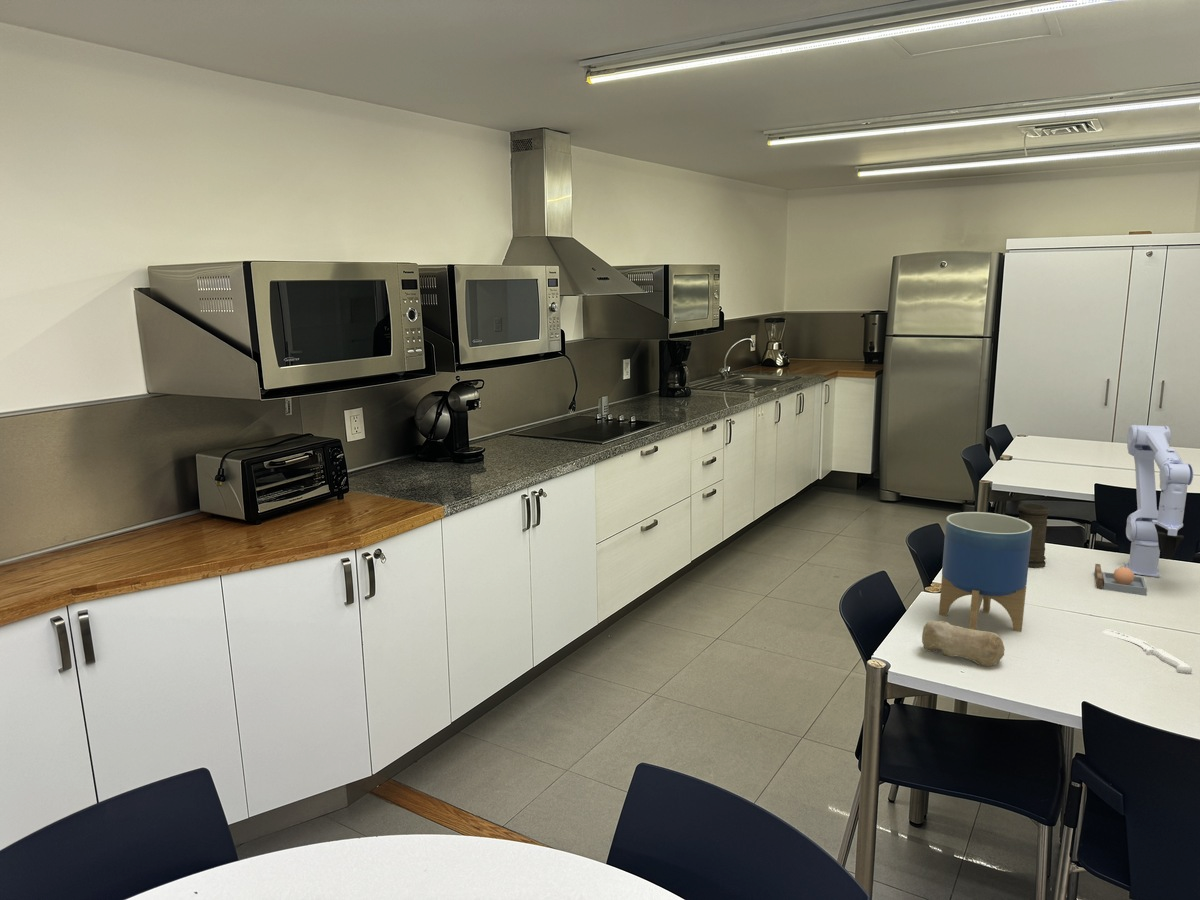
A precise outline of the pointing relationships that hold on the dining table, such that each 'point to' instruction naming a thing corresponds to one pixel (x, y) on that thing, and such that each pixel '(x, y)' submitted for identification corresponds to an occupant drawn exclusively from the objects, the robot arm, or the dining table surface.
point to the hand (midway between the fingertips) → (1165, 554)
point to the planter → (986, 563)
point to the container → (1035, 531)
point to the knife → (1153, 651)
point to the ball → (1123, 576)
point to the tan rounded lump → (963, 642)
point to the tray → (1134, 588)
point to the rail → (1098, 576)
